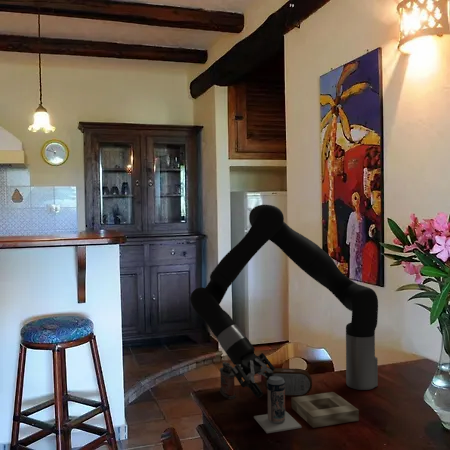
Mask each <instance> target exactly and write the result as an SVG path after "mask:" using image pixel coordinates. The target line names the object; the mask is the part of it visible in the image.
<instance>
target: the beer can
mask: <svg viewBox="0 0 450 450" xmlns="http://www.w3.org/2000/svg"><path fill="white" fill-rule="evenodd" d="M266 391H267V414H268V420H269V421H270V422H272V423H276V424H278V423H282V422H283V421H285V411H286V396H285V381H284V379H283V377H281V376H270V377H269V379H268V381H267V389H266Z"/></svg>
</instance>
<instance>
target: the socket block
mask: <svg viewBox="0 0 450 450" xmlns="http://www.w3.org/2000/svg"><path fill="white" fill-rule="evenodd" d="M290 401H291V409H292V410H293V411H295V412H296V413H297V415H299V416H300V417H301V418H302V419H303V420H304V421H306V423H307V424H308V425H310V427H312V428H313V429H314V428H321V427H322V428H323V427H326V426H327V427H328V426H333V425H338V424H339V425H341V424H345V423H346V424H347V423H351V422H359V420H360V414H359V413H360V410H359V409H358V408H357V407H355V406H354V405H353V404H351V403H350V402H349V401H347V400H346V399H344V398H343V397H342V396H340V395H339V394H337V393H336V392H334V391H329V392H321V393H315V394H309V395H308V394H307V395H305V396H300V397H295V396H292V397H291V399H290Z"/></svg>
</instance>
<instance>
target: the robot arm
mask: <svg viewBox="0 0 450 450" xmlns="http://www.w3.org/2000/svg"><path fill="white" fill-rule="evenodd" d="M248 221H249V224H250V228H249V230H248V231H247V233H246V234H245V235H244V236H243V238H242V239H241V240H240V241H239V242H238V243H237V244H236V245H235V246H234V247H232V248H231V249H230V250H229V251H228V252H227V253H226V254H225V255H224V256H223V257H222V259H221V260H220V261H219V262H218V263H217V265H216V266H215V267H214V269H212V272H211V273H210V275H209V281H208V283H207V284H206V286H205V287H197V288H195V289H194V290H192V293H191V294H190V298H189V299H190V304H191V306H192V308H193V310H194V311H195V312H196V313H197V315H198V316H199V317H200V318H201V320H203V321H204V322H205V324H207V326H208V328H209V329H210V331H211V332H212V334H213V335H214V336H215V338H216V339H217V341H218V343H219V345H220V347H221V348H222V350H223V351H224V352H225V354H226V356H228V358H229V359H230V361H231V363H232V364H233V365H234V366H233V369H232V372H233V373H234V375H235V377H234V378H235V379H236V380H237V381H238V383H239V384H240V386H241V387H242V388H245V387H246V388H248V389H250V391H251V393H253V395H254V396H255V397H256V398H257V399H260V398H261V397H262V396H263V395H264V392H263V390H262V389H261V388H260V386H259V384H258V383H257V382H255V381H256V380H255V375H259V376H261V375H262V376H263V377H264V378H265V377H266V378H267V380H268V379H269V377H270V376H274V375H273V370H274V369H275V368H276V367H275V366H274V365H273V364H272V362H271V361H270V359H268V357H267V356H266V355H265V353H263V352H261V353H260V354H259V355H256V353H255V349H256V348H255V347H254V345H253V344H252V343H251V341H250V339H248V337H247V336H246V335H245V333H244V331H243V330H241V328H240V327H239V326H238V325H237V324H236V322H235V321H234V320H233V318H232V317H231V316H230V314H229V313H228V312H227V311H226V310H224V308H222V307H221V303H222V302H223V299H224V297H225V295H226V294H227V291H228V289H229V288H230V286H231V285H233V283H234V282H235V280H236V279H237V278H238V276H239V275H240V273H242V271H243V270H244V268H245V267H246V266H247V264H248V263H249V262H250V261H251V260H252V258H253V257H254V256H255V255H256V254H257V253H258V252H259V251H260V250H261V248H263V247H264V245H265V244H266V243H268V241H270V242H272V243H273V244H274V245H276V246H277V247H278V248H279V249H280V250H281V251H282V252H283V253H284V254H285V255H286V256H287V258H289V259H290V260H291V261H292V262H293V263H294V264H295V265H296V266H298V268H300V270H302V271H303V272H305V274H306V275H308V276H309V277H311V278H312V279H313V280H314V281H316V282H318V284H320V285H321V286H322V287H324V288H326V289H327V290H328V291H329V292H330V293H331V294H332V295H334V297H335V298H336V300H338V301H339V302H340V303H341V304H342V306H343V307H345V308H346V309H347V310H348V311H349V312H351V321H350V322H349V323H347V324H346V326H345V372H346V373H345V383H346V386H347V387H348V388H351V389H353V390H359V391H368V390H373V389H374V388H376V387H378V375H379V373H378V372H379V371H378V369H379V368H378V364H379V363H378V361H379V360H378V357H376V335H375V333H376V328H377V327H378V316H379V301H378V295H377V293H376V291H375V290H374V289H372V288H370V287H368V286H365V285H362V284H358V283H356V282H355V281H354V280H352V279H350V278H349V277H348V276H346V275H345V274H344V273H343V272H342V271H341V269H339V268H338V265H337V264H336V263H335V261H334V260H333V258H332V256H331V255H329V254H328V253H327V252H326V251H325V250H324V249H323V248H322V247H320V246H319V245H318V244H317V243H315V242H314V241H312V240H311V239H309V238H307V237H306V236H305V235H303V234H301V233H299V232H298V231H296V230H294V229H293V228H292V227H291V226H289V225H288V224H287V223H286V222H285V219H284V214H283V211H282V210H281V209H280V208H279V207H277V206H275V205H272V204H271V205H270V204H259V205H256V206H254V207H253V208H252V209H251V210H250V212H249V216H248ZM243 380H244V381H243Z"/></svg>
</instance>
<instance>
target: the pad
mask: <svg viewBox="0 0 450 450" xmlns="http://www.w3.org/2000/svg"><path fill="white" fill-rule="evenodd" d="M253 419H254V420H255V421H256V422H257V423H258V425H259V426H260V427H261V428H262V429H263V430H264V432H265V433H266V434H272V433H278V432H284V431H285V432H286V431H290V430H291V431H292V430H296V429H302V425H301V423H299V422H298V421H297V420H296V419H295V418H294V417H292V415H291V414H290V413H289V412H287V411H286V410H285V421H283V422H282V423H278V424H276V423H272V422H270V421H269V420H268V413H266V414H259V415H254V416H253Z"/></svg>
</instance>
